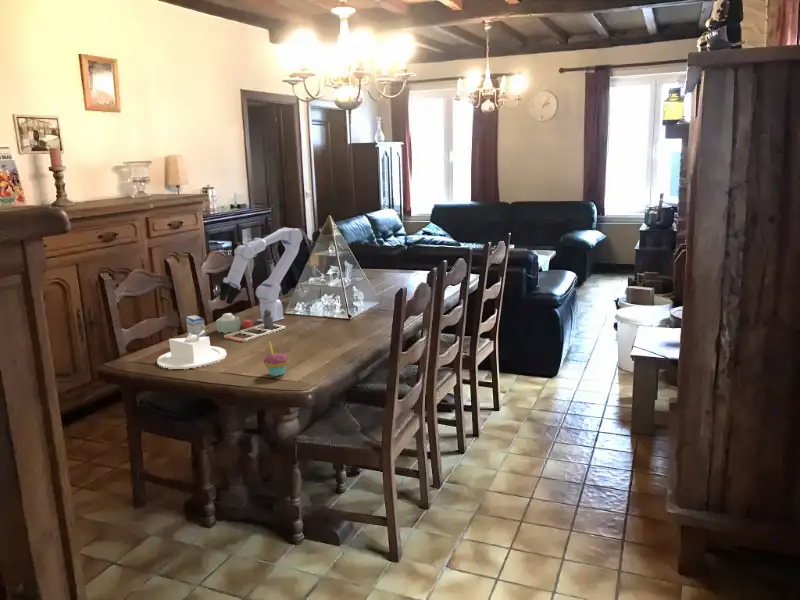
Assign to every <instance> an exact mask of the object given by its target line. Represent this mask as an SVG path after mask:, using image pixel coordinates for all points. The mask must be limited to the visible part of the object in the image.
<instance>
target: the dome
mask: <svg viewBox="0 0 800 600" xmlns="http://www.w3.org/2000/svg"><path fill="white" fill-rule="evenodd" d="M235 317H236V316H235V315H233V313H232V312H228V313H227V312H226V313H224V314H223V313H222V316H220V318H221V321H232V320H235Z"/></svg>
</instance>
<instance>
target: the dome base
mask: <svg viewBox="0 0 800 600" xmlns="http://www.w3.org/2000/svg"><path fill="white" fill-rule="evenodd" d="M215 323H216V329H217V330H216V331H218V332H217V333H221V332H223V333H222V334H229V333H228V332H231V333H233V332H235V331H237V330H238V329H239V330H241V329H240V328H241V321H240V316H235V320H232V321H221V317H219V318H218V319H216V320H215ZM239 330H238V331H239Z"/></svg>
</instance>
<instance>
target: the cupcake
mask: <svg viewBox="0 0 800 600" xmlns="http://www.w3.org/2000/svg"><path fill="white" fill-rule="evenodd" d="M268 344H269V348H270V353H271V354H269V355H267V356H266V357H265V358H264V360H263V365H264V366H265V367H266V369H267V370H268V371H269V374H270V376H271V377H279V375H280V376H282V374H283V375H284V374H285V373H286V368H287V366H288V365H289V363H290V359H289V357H288V355H287V354H284V353H281V352H277V353H276V352H275V353H274V349H273V345H272V342H271V340H268Z"/></svg>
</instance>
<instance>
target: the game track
mask: <svg viewBox="0 0 800 600" xmlns="http://www.w3.org/2000/svg"><path fill="white" fill-rule="evenodd" d="M273 324H274V329H273V330H267V329H264V322H262V323H260V324H258V325H254V326H253V327H250V328H247V329H244V328H243V329H239V330H238V331H237V332H231V333H226V334H223V337H225V338H224V339H228V338H229V339H228V340H232V339H233V340H232V341H236V340H237V341H236V342H240V341H241V343H246V342H249V341H251V340H250V339H252V340H254V339H253V338H256V337H259V336H262V337H264V336H263V335H265V336H267V335H266V334H268V335H271V334H274V333H277V332H276V331H278V332H280V331H279V330H281V331H283V330H282V329H284V330H286V329H287V326H286V325H282V324H280V325H279V324H276V323H273ZM261 326H263V328H262V327H261ZM258 327H260V328H258ZM277 327H279V328H277ZM275 328H276V329H275ZM251 329H253V330H254V329H257V330H256V331H258V330H262V331H261V332H262V333H258V334H257V333H253V332H249V331H248V330H250V331H252V330H251ZM245 331H247V332H245ZM263 331H266V332H263ZM273 332H274V333H273ZM239 333H241V334H240V335H243V334H246V335H245V336H248V335H251V336H248V337H246V338H241V337H237V335H239ZM270 333H271V334H270ZM236 334H237V335H236ZM235 335H236V336H235ZM259 338H260V337H259ZM256 339H257V338H256ZM248 340H249V341H248ZM245 341H246V342H245Z"/></svg>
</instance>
